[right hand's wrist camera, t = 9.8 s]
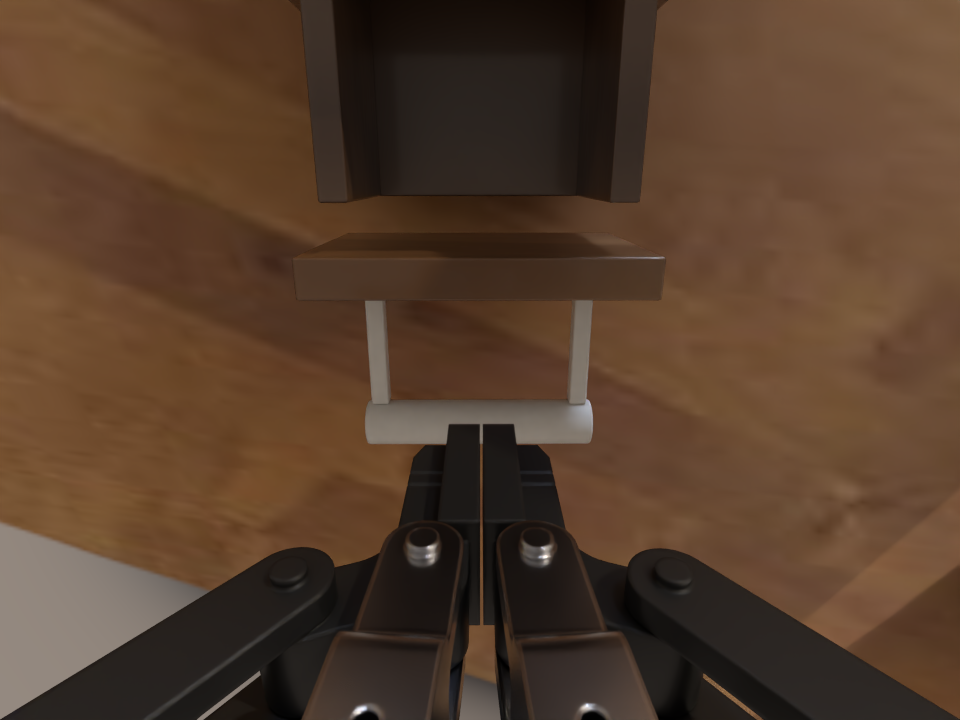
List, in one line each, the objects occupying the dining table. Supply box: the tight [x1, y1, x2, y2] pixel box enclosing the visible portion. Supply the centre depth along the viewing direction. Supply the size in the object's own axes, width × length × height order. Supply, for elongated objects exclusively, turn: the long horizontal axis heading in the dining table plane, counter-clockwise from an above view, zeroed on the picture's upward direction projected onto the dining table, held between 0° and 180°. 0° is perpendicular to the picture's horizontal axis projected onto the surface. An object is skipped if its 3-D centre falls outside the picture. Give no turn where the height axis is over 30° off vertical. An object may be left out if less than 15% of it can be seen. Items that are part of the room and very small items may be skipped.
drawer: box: [292, 0, 666, 444], centre depth 16 cm, size 25×10×7 cm, turn 0°
